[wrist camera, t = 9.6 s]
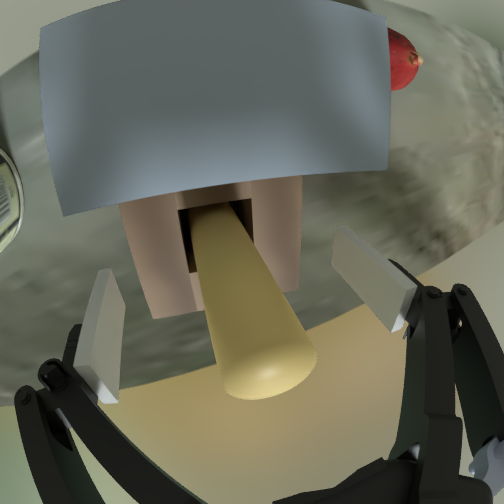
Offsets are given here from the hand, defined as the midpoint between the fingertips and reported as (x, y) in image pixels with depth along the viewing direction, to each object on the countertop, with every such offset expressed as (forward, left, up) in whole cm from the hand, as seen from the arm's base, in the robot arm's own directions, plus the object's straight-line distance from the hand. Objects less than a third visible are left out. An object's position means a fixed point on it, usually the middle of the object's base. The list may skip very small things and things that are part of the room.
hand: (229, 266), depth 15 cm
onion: (+14, +13, -9) cm, 21 cm away
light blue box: (0, +9, -9) cm, 13 cm away
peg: (0, 0, -9) cm, 9 cm away
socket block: (0, 0, -9) cm, 9 cm away
